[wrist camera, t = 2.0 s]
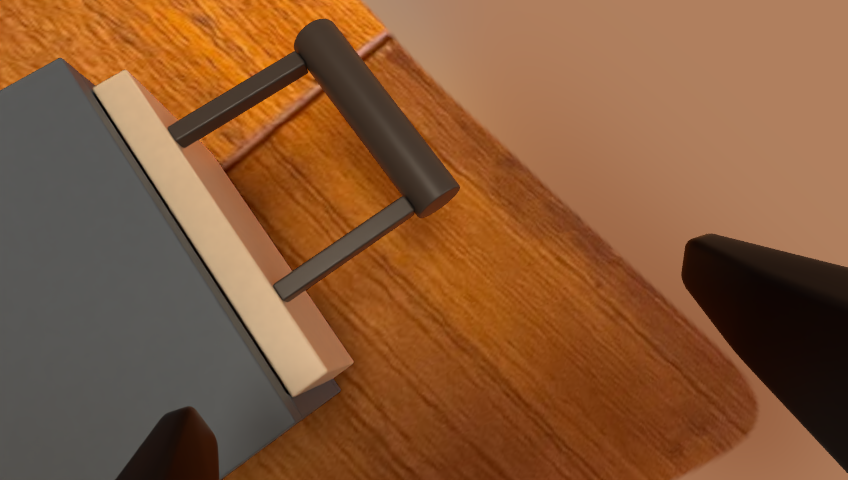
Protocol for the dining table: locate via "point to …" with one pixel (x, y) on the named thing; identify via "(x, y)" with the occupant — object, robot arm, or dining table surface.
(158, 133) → the drawer
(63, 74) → the cabinet
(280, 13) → the dining table surface
